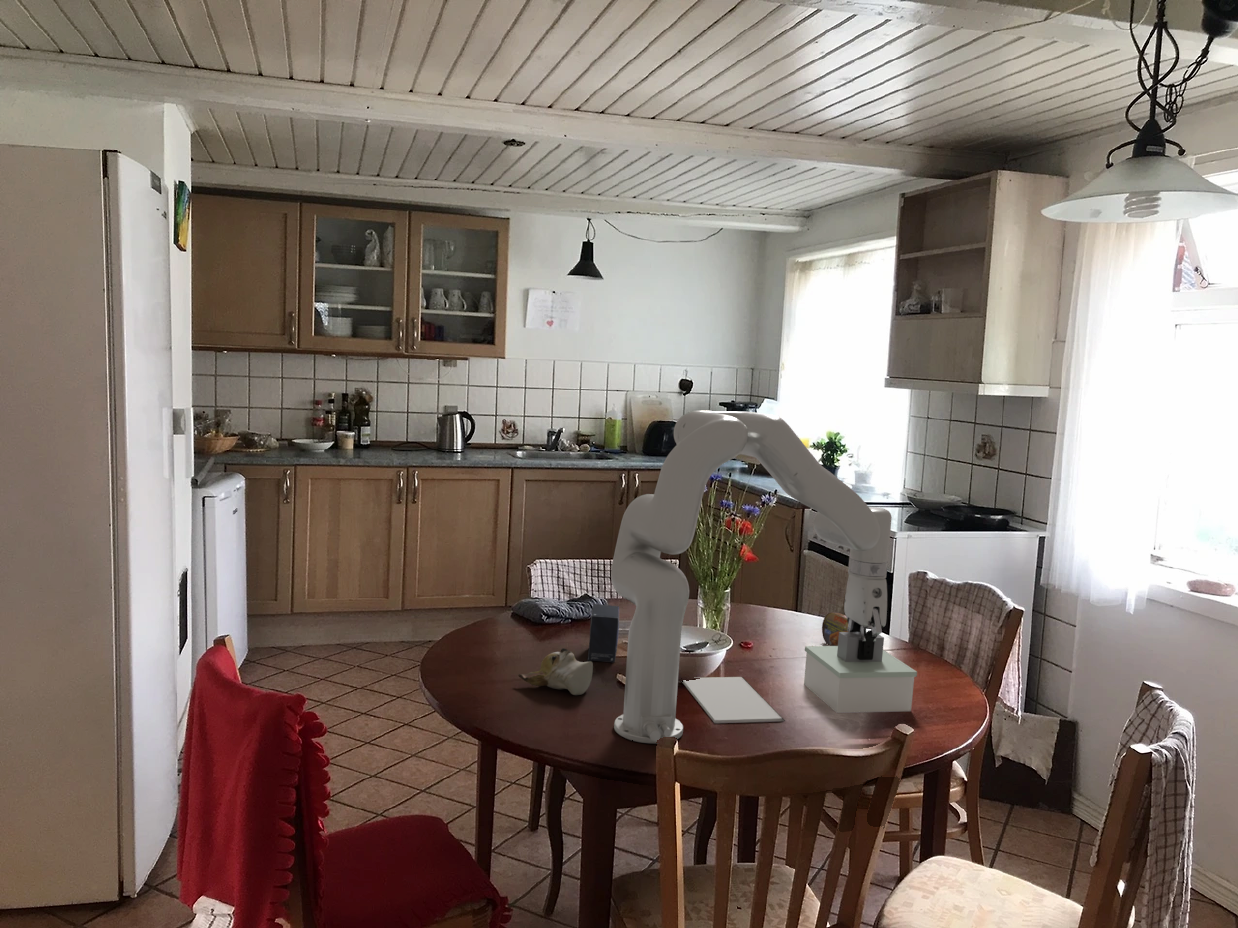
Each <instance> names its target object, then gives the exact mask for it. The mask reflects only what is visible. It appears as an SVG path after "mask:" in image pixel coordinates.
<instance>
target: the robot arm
mask: <svg viewBox="0 0 1238 928" xmlns="http://www.w3.org/2000/svg"><path fill="white" fill-rule="evenodd" d="M673 439H674V442H675V443H676V445H675V446H674V447H673V448H672V450H671V451H670V452H669V453H668V454H667V456H666V458H665V460H664V462H663V463H662V465H661V467H660V468H661V469H660V470H659V471H660V472H659V476H658V478H657V479H658V480H657V483H656V486H655V489H654V493H653V494H652V493H651V494H650V493H646V494H642V495H639V496H637V497H636V498H634V499H633V500H632V501H631V502H630V503H629V504H628V506H627V508H626V509H625V511H624V514H623V515H622V519H621V523H620V527H619V530H618V535H617V540H616V544H615V549H614V554H613V559H612V562H611V563H612V564H611V570H610V578H611V584H612V586H613V588H614V590H615V592H616V593H617V594H618V595H619V596H621V597H622V598H623V599H625V600H627V601H628V602H630V603H632V604H633V605H635V611H634V614H633V616H632V619H631V621H630V624H629V628H628V635H627V653H626V664H625V665H626V666H625V668H626V669H625V680H624V681H625V685H624V698H623V699H624V700H623V713H622V714H621V715H618V717H616V718H615V720H614V724H613V726H614V727H613V728H614V731H615V732H616V733H617V734H618V735H619V736H620V737H623V738H625V739H627V740H629V741H632V740H633V742H637V743H641V744H657V743H656V742H657V740H659V739H660V738H663V737H675V738H677V739H676V740H678V739H680V738H681V737H682V736H683V732H684V725H683V723H682V722H681V721H680V720H679V719H677V718H676V716H677V715H676V714H677V703H678V702H677V699H678V697H677V696H678V686H679V671H680V656H681V642H682V641H681V639H682V631H683V622H684V617H685V612H686V610H687V606H688V603H689V597H690V586H689V582H688V579H687V577H686V575H685V573H684V572H683V571H682V569H680V568H679V567H678V566H676V564H673V563H671V562H669V561H667V560H665V559H662V558H661V554H662V553H664V554H668V555H680V554H683V553H684V552H686V550H688V549H689V547H691V544H692V542H693V539H694V536H695V534H696V533H695V532H696V529H697V528H696V527H697V523H698V520H699V514H700V509H701V505H702V500H703V497H704V493H705V490H706V487H707V483H708V481H709V479H710V477H711V476H712V474H714V472H715V471H716V470H717V469H718V468H719V467H721V466H722V465H725V463H727V462H728V461H731V460H733V459H734V458H736V457H737V456H739V455H742V456H748V457H753V458H755V459H756V460H757V461H758V462H759V463H760V464H761V466H762V467H763V468H764V469H765V471H767V472H768V473H769V475H770V476H771V477H772V478H773V479H774V480H775V482H776V484H778V486H779V487H780V488H781V489H782V490H783V491H784V493H785V494H787V496H789V497H791V498H792V499H794V500H795V501H797V502H799V503H800V504H802V505H804V506H806V507H808V508H810V509H813V510H815V511H816V513H815V515H814V517H813V519H812V527H813V532H815V534H816V535H817V537H818V538H820V539H821V540H823V541H825V542H827V543H830V544H834V545H837V546H839V547H842V548H843V547H844V548H847V549H849V557H848V566H847V567H848V568H847V573H848V577H847V578H848V579H847V582H846V583H847V584H846V588H845V596H844V607H843V608H844V609H843V611H844V612H843V613H844V615H845V616H846V617H847V622H848V629H847V630H848V632H861V640H859V645H858V656H857V658H858V659H859V660H872V659H873V653H874V642H875V641H876V637H877V636H878V635H881V634H882V631H883V630H882V628H884V627H885V626H886V624H887V616H888V615H887V613H888V612H887V611H888V583H887V579H886V578H887V573H888V571H887V569H888V561H889V550H890V542H891V541H890V539H891V532H892V531H891V530H892V513H891V512H890V511H889V510H888V509H886V508H882V507H877V506H876V507H875V506H869V505H867V503H866V502H865V500H863V499H862V497H860V495H859V494H857V492H855V491H854V490H853V489H852V488H851V487H849V486H848V485H847V484H846V483H844V482H843V481H841V479H839V478H838V477H837V476H836V475H835V474H833V473H832V472H831V471H829V469H826V467H824V466H823V465H822V464H821V463H820V462H819V461H818V460H817V458H816V457H815V456H814V454H812V453H811V452H810V450H809V448H807V447H806V445H805V444H804V442H803V441H802V440H801V438H799V436H798V435H797V433H796V432H795V431H794V430H793V428H792V427H791V426H790V425H789V424H788V423H787V422H786V421H785V420H784V419H782V418H781V417H780V416H779V415H778V416H777V415H774V414H770V413H769V414H768V413H762V412H756V411H755V412H754V411H717V410H716V411H712V410H692V411H688V412H687V413H684V414H683V415H681V416H680V417H679V418H678V420H677V421H676V423H675V425H674V428H673ZM869 623H871V624H869ZM867 629H869V630H868V631H867ZM866 632H867V633H866Z"/></svg>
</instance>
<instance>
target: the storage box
mask: <svg viewBox="0 0 1238 928" xmlns="http://www.w3.org/2000/svg"><path fill="white" fill-rule="evenodd" d="M803 679H804V680H803V685H804V686H805V687H806V688H807V689H808V690H809V691H811V692H812V693H813V694H814V695H816V696H817V697H818V698H819V699H820V700H821V701H822V702H824V703H825V704H826V705H827V706H828V707H829V708H830V709H831V710H833V712H835V713H836V714H851V713H852V714H853V713H855V714H857V713H859V714H860V713H862V714H863V713H889V712H890V713H891V712H893V713H894V712H895V713H896V712H898V713H899V712H900V713H901V712H912V706H913V705H912V704H913V693H914V684H915V677H866V678H839V677H837V676H836V675H835V674H834V673H832V672H831V671H830V670H829V669H827V668H826V667H825V666H823V665H822V664H821V663H820V662H818V661H817V660H816V659H815V658H813V657H812V656H811V655H809V654H808V653H807V652H806V655H805V668H804V678H803Z"/></svg>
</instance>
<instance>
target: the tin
mask: <svg viewBox="0 0 1238 928" xmlns="http://www.w3.org/2000/svg"><path fill="white" fill-rule="evenodd" d="M821 624H822V625H821V634H822V637H823V640H824V642H825V643H826V646H838V639H839V632H848V630H847V629H848V622H847V617H846V615H845V614H842V613H840V612H832V611H831V612H828V613H827V614H826V615H825V616H824V618H823V620H822V623H821Z"/></svg>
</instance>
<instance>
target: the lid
mask: <svg viewBox="0 0 1238 928" xmlns="http://www.w3.org/2000/svg"><path fill="white" fill-rule="evenodd" d="M867 632H868V631H866V633H867ZM859 640H861V632H839V639H838V646H829V645H806V646H804V651H805V652H806V653H808V654H809V655H811V656H812V657H813V658H815V659H816V660H817V661H818V662H820V663H821V664H822V665H823V666H825V667H826V668H827V669H829V670H830V671H831V672H832V673H834V674H835V675H836V676H837V677H839V678H866V677H914V678H915V677H916V678H917V677H918V671H917V670H915V669H913V668H912V667H910V666H909V665H907V663H904V662H903V661H902V660H900V659H898V658H897V657H895V656H894V655H892V654H891V653H889V652H888V651H886V650H884V643H885V637H884V636H883V635H881V634H879V635H878V636H877V637H876V641H875V642H874V653H873V659H872V660H859V659H858V658H857V656H858V645H859Z"/></svg>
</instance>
